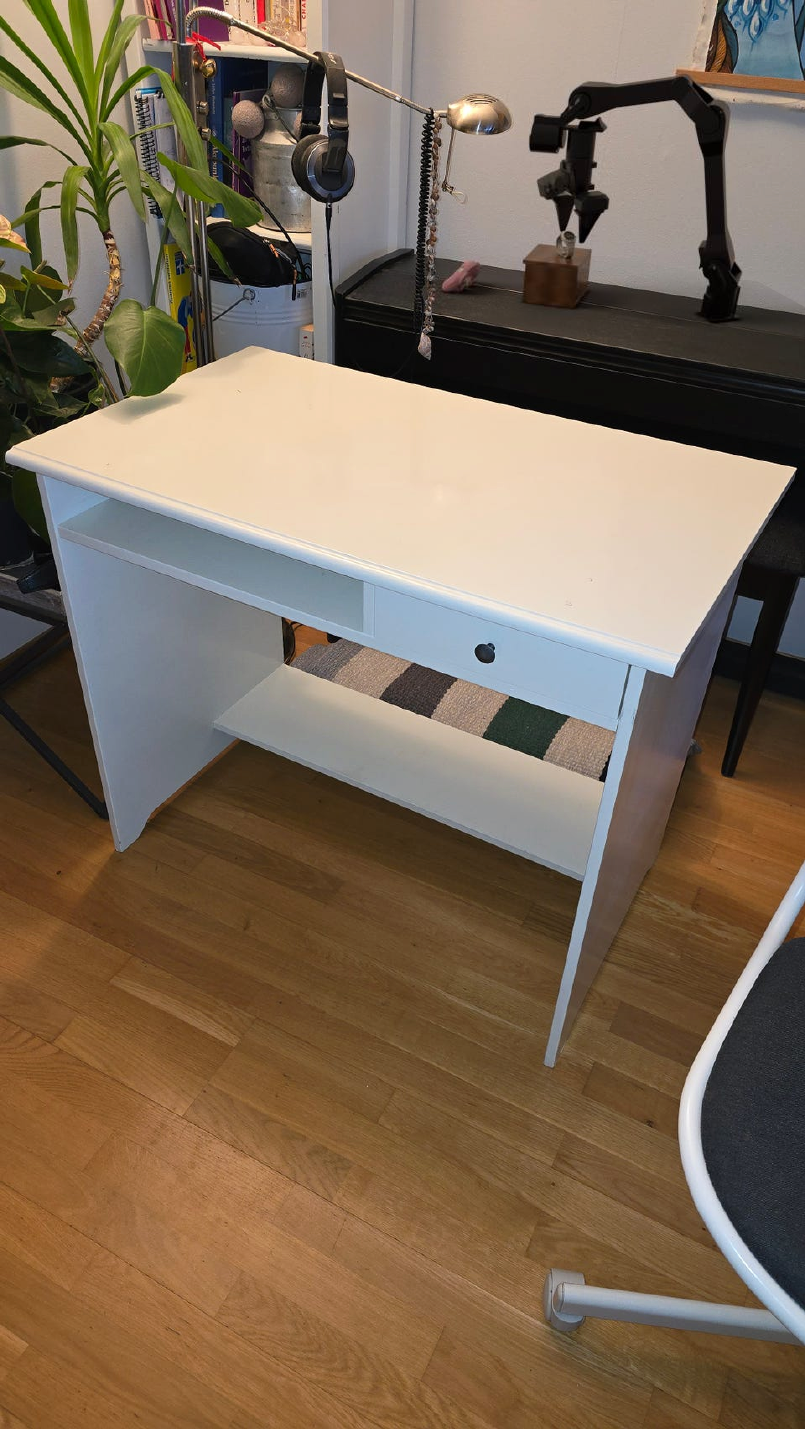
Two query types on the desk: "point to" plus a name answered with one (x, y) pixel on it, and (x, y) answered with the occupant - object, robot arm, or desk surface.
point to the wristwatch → (569, 240)
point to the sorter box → (555, 284)
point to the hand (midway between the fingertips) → (571, 237)
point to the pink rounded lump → (463, 276)
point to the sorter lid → (556, 257)
